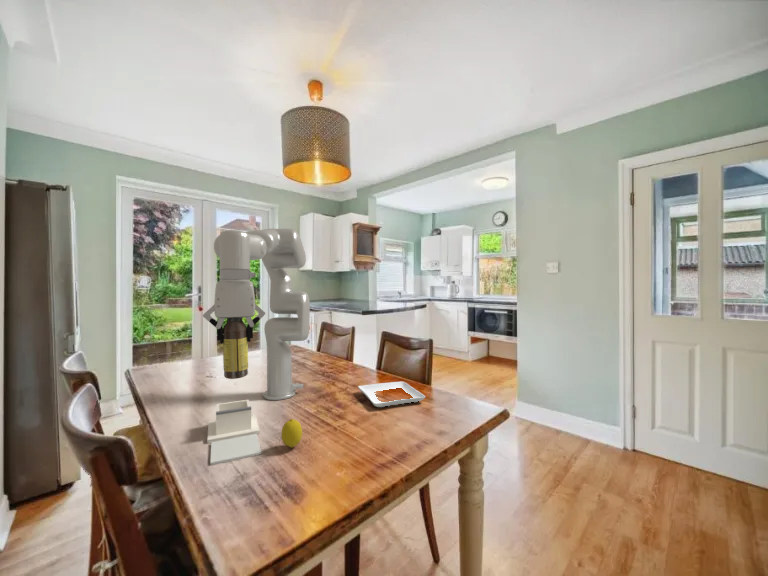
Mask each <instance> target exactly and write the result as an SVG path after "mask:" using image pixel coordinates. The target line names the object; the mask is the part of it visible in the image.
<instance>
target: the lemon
mask: <svg viewBox="0 0 768 576" xmlns="http://www.w3.org/2000/svg"><path fill="white" fill-rule="evenodd" d="M302 436H303V427H302V425H301V423H300V422H299V421H298V420H297V419H294V418H291V419H289V420H287V421H286V422H285V423H284V424H283V425H282V429H281V441H282V443H283V445H285V446H287V447H290V448H291V449H293V448H294V447H295V446H297V445H298V444H299V443H300V442H301V440H302Z"/></svg>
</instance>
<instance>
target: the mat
mask: <svg viewBox="0 0 768 576" xmlns="http://www.w3.org/2000/svg"><path fill="white" fill-rule="evenodd" d="M259 454H260V455H262V449H261V446H260V441H259V438H258V434H252V435H247V436H242V437H236V438H231V439H226V440H220V441H215V442H211V443H210V461H209V462H210V466H213V465H218V464H219V465H220V464H223V463H227V462H232V460H233V461H237V460H241V459H245V458H251V457H255V455H256V456H259Z"/></svg>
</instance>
